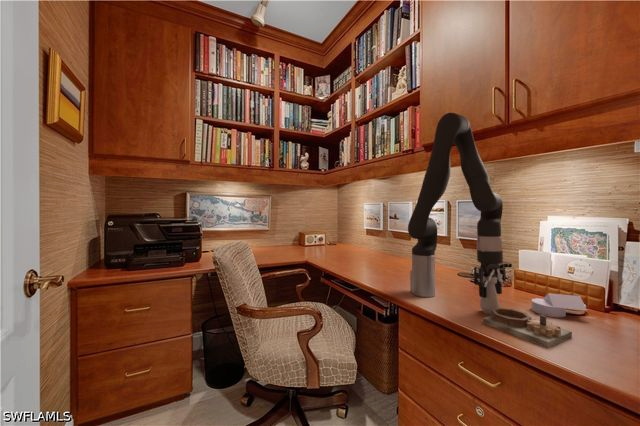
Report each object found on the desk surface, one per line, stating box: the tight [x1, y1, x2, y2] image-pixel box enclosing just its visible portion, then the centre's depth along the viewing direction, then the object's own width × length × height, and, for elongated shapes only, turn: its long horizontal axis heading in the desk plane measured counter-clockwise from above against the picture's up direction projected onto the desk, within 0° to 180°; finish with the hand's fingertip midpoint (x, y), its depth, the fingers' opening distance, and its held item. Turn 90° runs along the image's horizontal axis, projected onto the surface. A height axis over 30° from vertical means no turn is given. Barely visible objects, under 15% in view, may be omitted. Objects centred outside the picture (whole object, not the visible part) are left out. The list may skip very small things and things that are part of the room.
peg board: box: [482, 307, 573, 349], centre depth 77 cm, size 17×13×6 cm
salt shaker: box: [479, 276, 501, 316], centre depth 90 cm, size 6×6×13 cm
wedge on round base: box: [531, 292, 588, 318], centre depth 90 cm, size 9×7×13 cm
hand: (490, 295), depth 90 cm, fingers open, 8 cm apart
